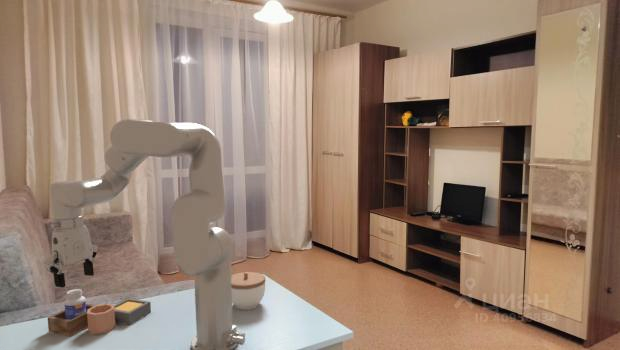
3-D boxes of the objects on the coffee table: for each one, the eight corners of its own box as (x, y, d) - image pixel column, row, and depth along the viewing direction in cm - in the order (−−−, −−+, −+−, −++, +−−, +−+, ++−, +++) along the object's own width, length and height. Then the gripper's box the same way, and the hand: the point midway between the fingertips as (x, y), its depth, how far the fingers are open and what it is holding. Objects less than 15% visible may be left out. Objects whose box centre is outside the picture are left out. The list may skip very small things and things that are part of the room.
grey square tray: (150, 312, 132) (150, 301, 132) (129, 324, 124) (129, 313, 123) (128, 308, 135) (127, 298, 135) (106, 320, 127) (105, 309, 126)
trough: (102, 319, 127) (101, 306, 127) (70, 336, 117) (69, 321, 117) (81, 315, 130) (80, 302, 130) (48, 331, 120) (47, 317, 120)
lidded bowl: (232, 297, 143) (231, 266, 142) (268, 297, 143) (267, 266, 142) (223, 313, 131) (221, 279, 130) (262, 313, 130) (262, 279, 129)
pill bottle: (77, 327, 121) (75, 295, 120) (61, 326, 122) (59, 294, 121) (91, 319, 126) (88, 288, 125) (75, 318, 127) (73, 287, 126)
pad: (144, 306, 131) (144, 303, 131) (129, 315, 125) (129, 312, 125) (128, 304, 133) (128, 301, 133) (112, 312, 127) (112, 309, 127)
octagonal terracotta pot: (120, 325, 124) (119, 305, 123) (101, 336, 117) (100, 315, 116) (102, 321, 126) (101, 302, 125) (83, 332, 119) (81, 312, 119)
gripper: (50, 230, 111) (58, 292, 113) (102, 217, 127) (108, 271, 129) (30, 230, 114) (38, 290, 115) (84, 217, 130) (90, 270, 131)
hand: (75, 280), depth 122 cm, fingers open, 9 cm apart
